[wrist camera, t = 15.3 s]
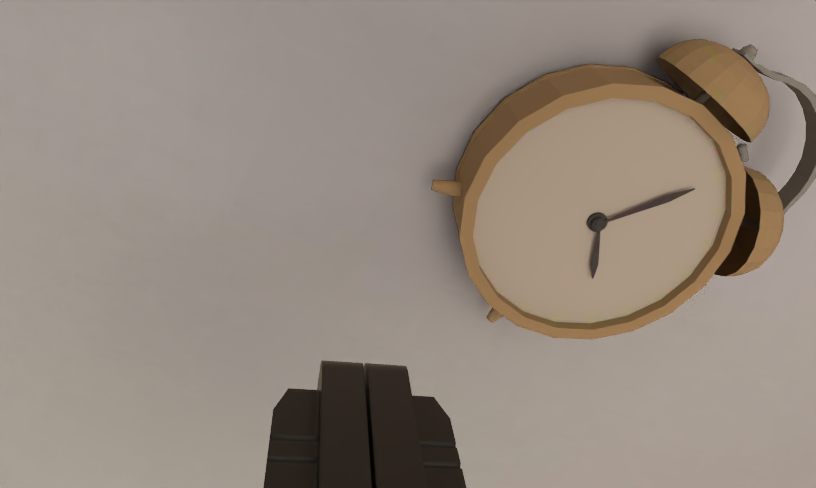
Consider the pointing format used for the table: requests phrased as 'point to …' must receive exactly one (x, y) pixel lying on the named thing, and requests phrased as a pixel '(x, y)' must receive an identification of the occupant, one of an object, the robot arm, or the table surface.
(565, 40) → the table surface
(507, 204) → the alarm clock
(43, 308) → the table surface
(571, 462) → the table surface
